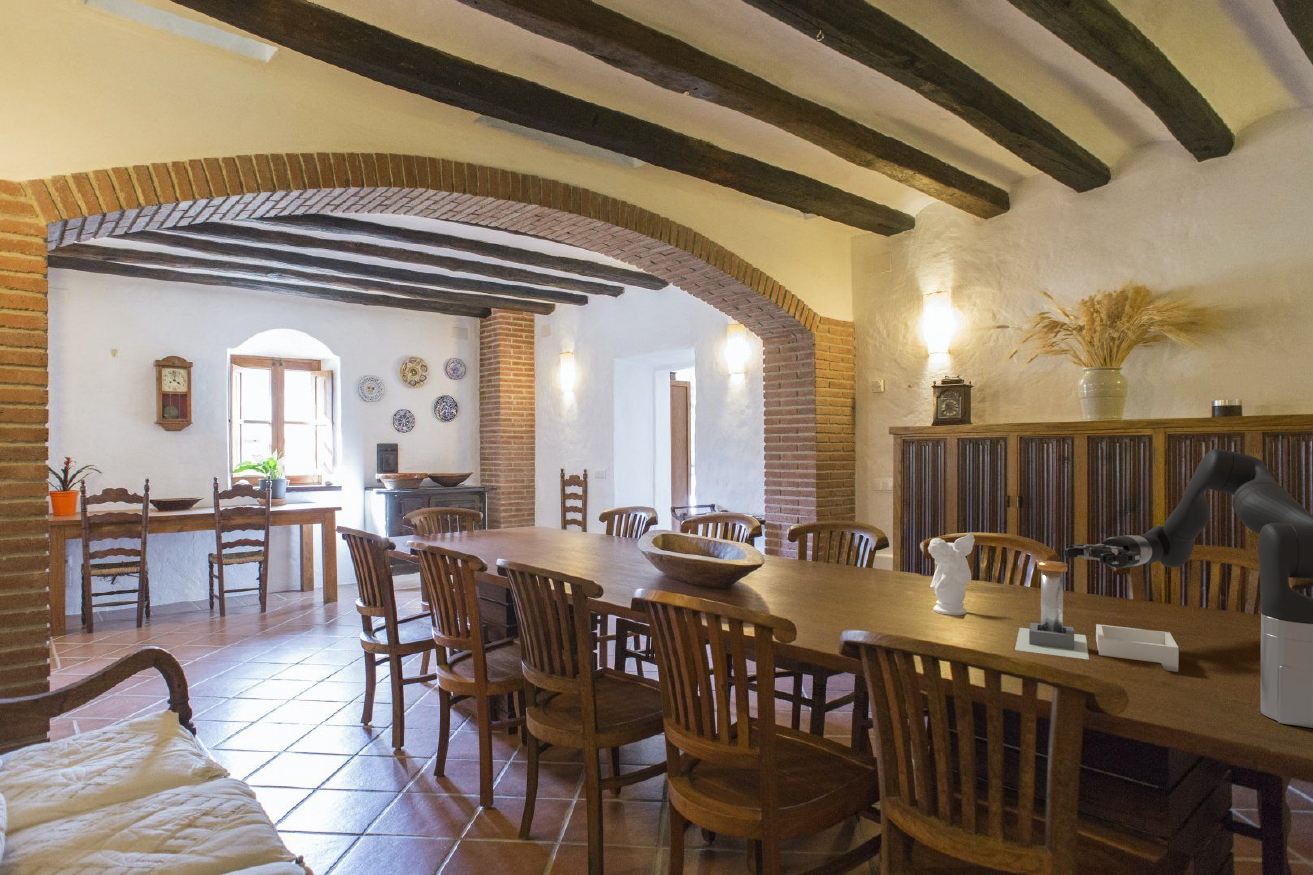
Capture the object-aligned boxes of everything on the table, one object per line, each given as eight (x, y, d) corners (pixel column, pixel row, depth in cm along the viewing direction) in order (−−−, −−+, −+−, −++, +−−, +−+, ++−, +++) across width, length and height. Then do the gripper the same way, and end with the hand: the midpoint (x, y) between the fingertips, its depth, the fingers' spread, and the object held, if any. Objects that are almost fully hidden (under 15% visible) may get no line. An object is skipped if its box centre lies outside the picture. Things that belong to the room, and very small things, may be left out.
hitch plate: (1088, 666, 155) (1089, 645, 155) (1014, 656, 162) (1014, 636, 162) (1085, 641, 174) (1085, 622, 174) (1019, 633, 181) (1019, 615, 181)
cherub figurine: (929, 614, 201) (928, 533, 202) (927, 604, 213) (926, 528, 213) (977, 617, 198) (976, 534, 198) (973, 607, 209) (972, 529, 210)
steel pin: (1066, 647, 164) (1067, 566, 164) (1036, 643, 167) (1036, 563, 167) (1066, 640, 169) (1067, 562, 169) (1037, 637, 172) (1037, 559, 172)
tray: (1178, 671, 152) (1178, 647, 152) (1098, 661, 159) (1099, 638, 159) (1169, 654, 164) (1169, 632, 164) (1096, 645, 171) (1096, 624, 171)
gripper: (1097, 532, 187) (1055, 536, 179) (1157, 539, 174) (1114, 544, 167) (1097, 561, 187) (1055, 566, 180) (1156, 571, 174) (1113, 577, 167)
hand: (1083, 556), depth 173 cm, fingers open, 8 cm apart
